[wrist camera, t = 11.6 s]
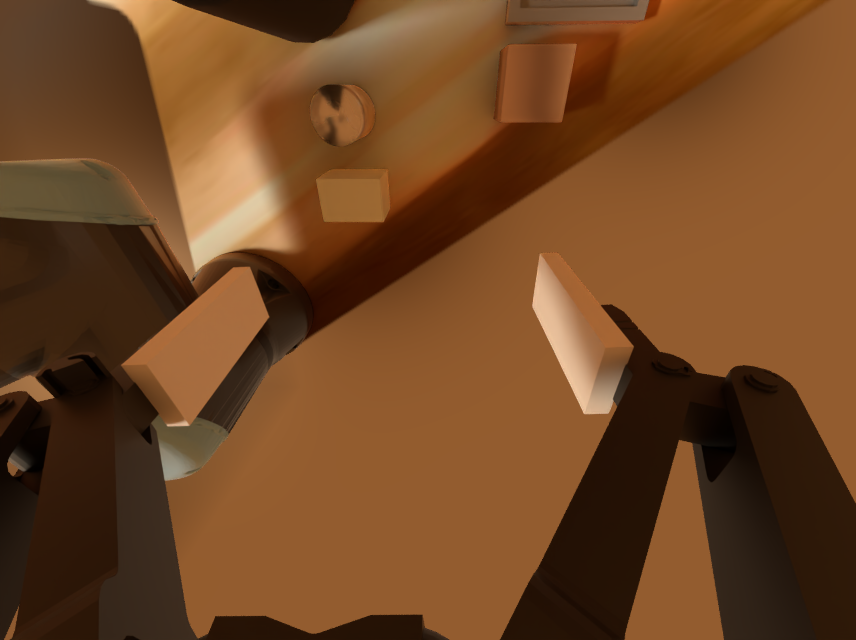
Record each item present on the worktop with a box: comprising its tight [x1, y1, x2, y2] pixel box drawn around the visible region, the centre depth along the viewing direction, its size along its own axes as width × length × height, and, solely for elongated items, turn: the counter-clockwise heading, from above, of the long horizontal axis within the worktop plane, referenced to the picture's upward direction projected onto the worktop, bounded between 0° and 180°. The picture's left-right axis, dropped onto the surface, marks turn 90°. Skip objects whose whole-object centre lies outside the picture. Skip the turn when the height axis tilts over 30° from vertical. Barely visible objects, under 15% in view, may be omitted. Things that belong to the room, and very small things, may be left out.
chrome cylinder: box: [310, 85, 375, 146], centre depth 30 cm, size 4×4×5 cm
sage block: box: [316, 169, 391, 222], centre depth 34 cm, size 6×4×5 cm, turn 91°
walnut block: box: [494, 44, 577, 122], centre depth 28 cm, size 5×5×5 cm
